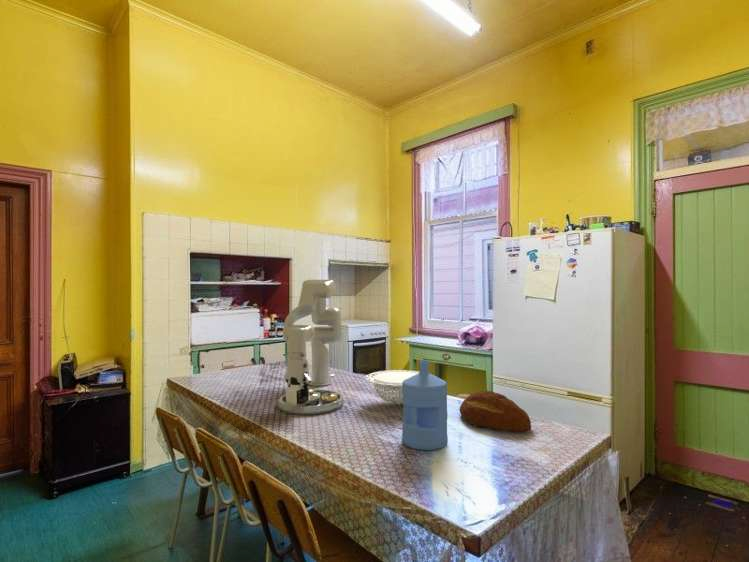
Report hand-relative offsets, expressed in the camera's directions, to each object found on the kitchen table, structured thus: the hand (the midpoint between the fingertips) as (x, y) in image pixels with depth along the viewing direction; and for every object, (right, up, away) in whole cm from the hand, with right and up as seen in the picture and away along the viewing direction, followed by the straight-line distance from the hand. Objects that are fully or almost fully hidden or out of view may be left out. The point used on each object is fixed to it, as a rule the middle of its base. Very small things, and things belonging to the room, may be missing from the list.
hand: (297, 395), depth 183 cm
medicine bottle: (0, -4, 0) cm, 4 cm away
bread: (+80, -6, -19) cm, 83 cm away
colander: (+45, -6, +6) cm, 46 cm away
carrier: (+5, -6, +7) cm, 10 cm away
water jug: (+51, -6, -39) cm, 64 cm away
